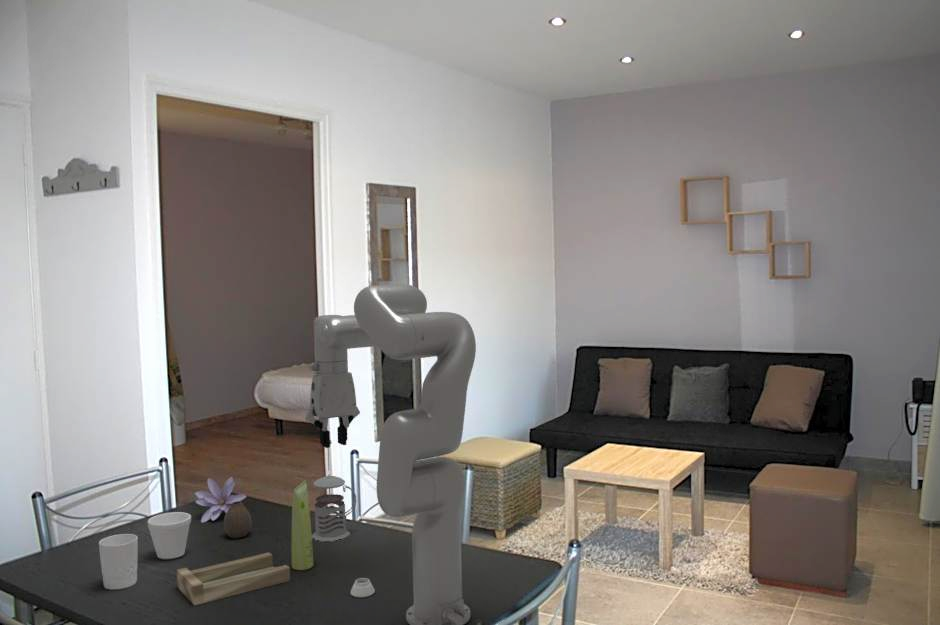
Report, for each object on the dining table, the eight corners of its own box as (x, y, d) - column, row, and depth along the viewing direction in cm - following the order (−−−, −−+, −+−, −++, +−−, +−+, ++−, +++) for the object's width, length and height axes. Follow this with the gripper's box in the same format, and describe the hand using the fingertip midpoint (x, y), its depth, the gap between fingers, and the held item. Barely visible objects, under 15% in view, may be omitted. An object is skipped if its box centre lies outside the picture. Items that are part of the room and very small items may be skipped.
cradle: (290, 580, 182) (289, 563, 181) (194, 605, 169) (193, 586, 169) (269, 565, 191) (268, 548, 191) (177, 587, 179) (176, 569, 179)
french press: (308, 531, 214) (305, 437, 213) (352, 526, 219) (349, 433, 217) (315, 543, 205) (311, 445, 204) (360, 537, 209) (357, 440, 208)
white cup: (128, 574, 187) (126, 531, 187) (146, 582, 182) (144, 538, 182) (94, 585, 181) (92, 541, 181) (112, 594, 176) (109, 548, 176)
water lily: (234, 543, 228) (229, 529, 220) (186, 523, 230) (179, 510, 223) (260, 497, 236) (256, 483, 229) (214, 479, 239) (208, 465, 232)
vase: (222, 534, 214) (221, 500, 214) (249, 529, 217) (248, 497, 217) (226, 542, 208) (225, 508, 207) (254, 537, 211) (252, 504, 210)
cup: (140, 561, 195) (138, 523, 195) (165, 547, 205) (163, 510, 204) (177, 564, 193) (175, 526, 192) (201, 549, 203) (199, 513, 202)
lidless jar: (359, 601, 171) (379, 594, 174) (359, 587, 170) (378, 580, 174) (346, 594, 174) (365, 587, 178) (345, 580, 174) (364, 574, 177)
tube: (318, 568, 189) (315, 484, 187) (297, 573, 186) (294, 488, 185) (308, 561, 193) (305, 479, 192) (287, 566, 191) (284, 483, 189)
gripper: (305, 373, 184) (308, 453, 185) (370, 366, 194) (372, 443, 195) (291, 369, 190) (294, 448, 191) (355, 363, 200) (358, 438, 201)
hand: (334, 444), depth 193 cm, fingers open, 3 cm apart
